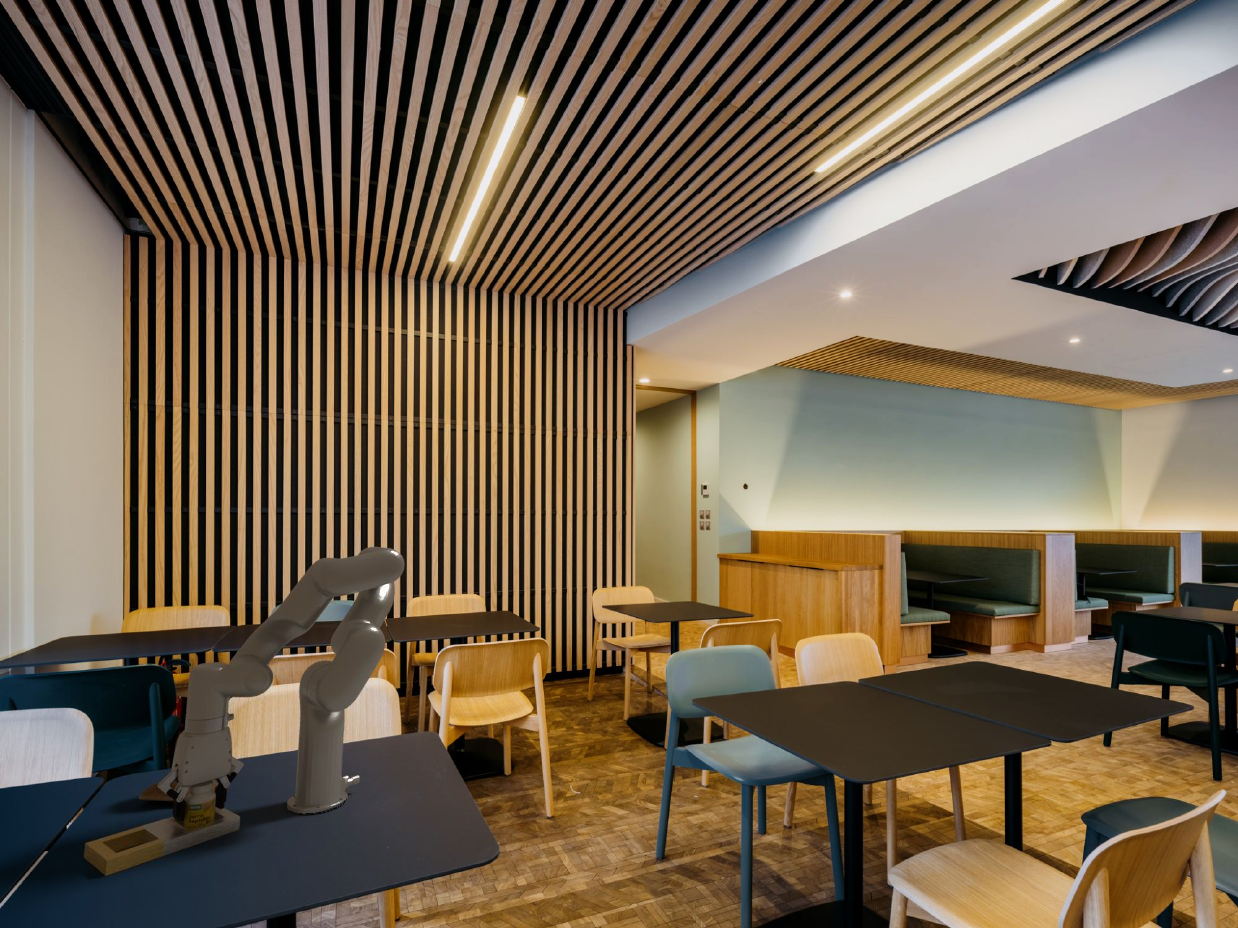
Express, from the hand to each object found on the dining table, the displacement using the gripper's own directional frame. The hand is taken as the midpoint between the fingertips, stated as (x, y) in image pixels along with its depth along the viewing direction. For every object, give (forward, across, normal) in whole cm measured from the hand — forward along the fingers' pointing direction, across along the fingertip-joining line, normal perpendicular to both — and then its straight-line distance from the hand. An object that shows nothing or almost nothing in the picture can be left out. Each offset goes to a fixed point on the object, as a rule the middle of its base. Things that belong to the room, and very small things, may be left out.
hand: (199, 812), depth 136 cm
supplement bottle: (+4, 0, 0) cm, 4 cm away
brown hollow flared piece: (+4, -6, -21) cm, 22 cm away
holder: (+4, +6, 0) cm, 7 cm away
